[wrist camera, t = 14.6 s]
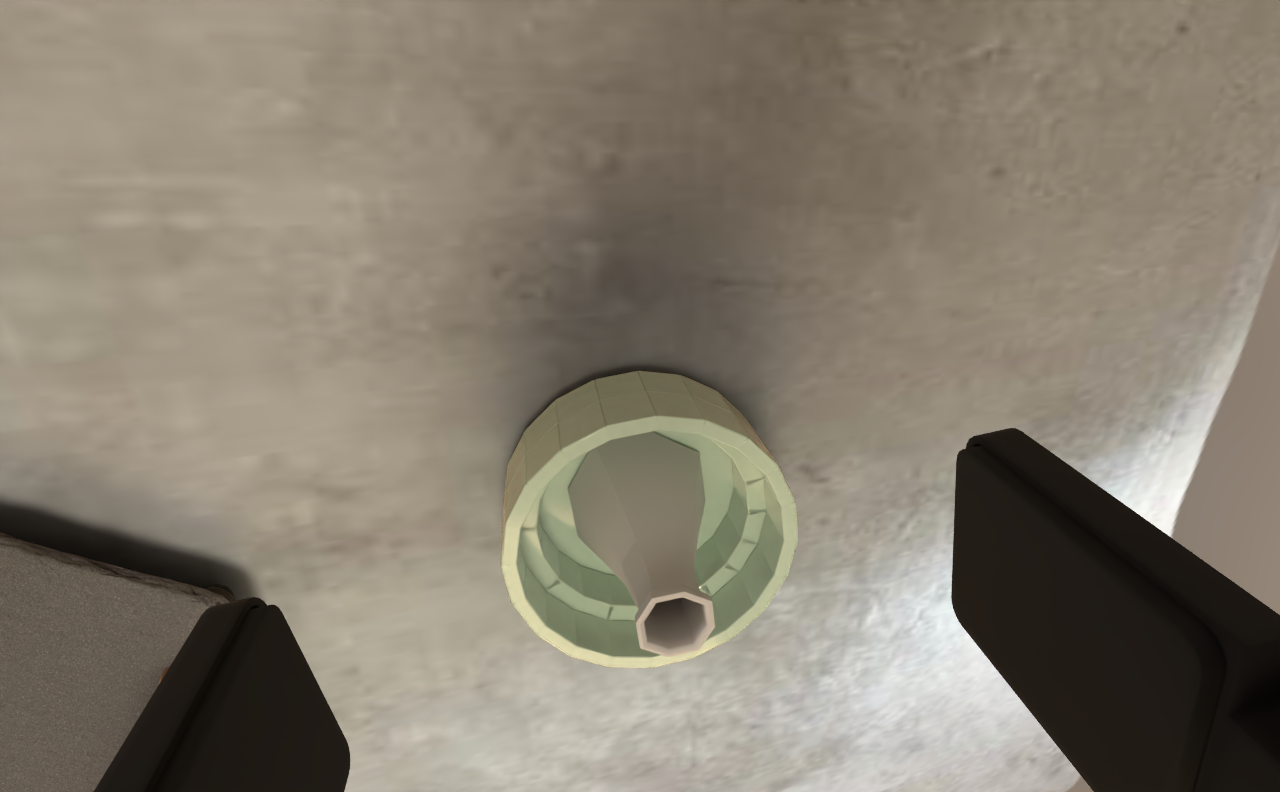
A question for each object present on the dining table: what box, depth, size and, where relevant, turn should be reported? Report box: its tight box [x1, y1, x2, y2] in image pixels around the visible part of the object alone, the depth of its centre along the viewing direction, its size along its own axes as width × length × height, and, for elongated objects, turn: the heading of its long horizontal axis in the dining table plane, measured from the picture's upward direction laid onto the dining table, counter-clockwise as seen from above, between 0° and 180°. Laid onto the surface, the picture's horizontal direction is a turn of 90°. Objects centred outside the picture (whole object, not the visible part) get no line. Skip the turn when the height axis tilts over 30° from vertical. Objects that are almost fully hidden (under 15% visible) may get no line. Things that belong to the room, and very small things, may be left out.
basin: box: [501, 371, 798, 668], centre depth 34 cm, size 13×13×6 cm
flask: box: [568, 432, 715, 657], centre depth 32 cm, size 7×7×10 cm
